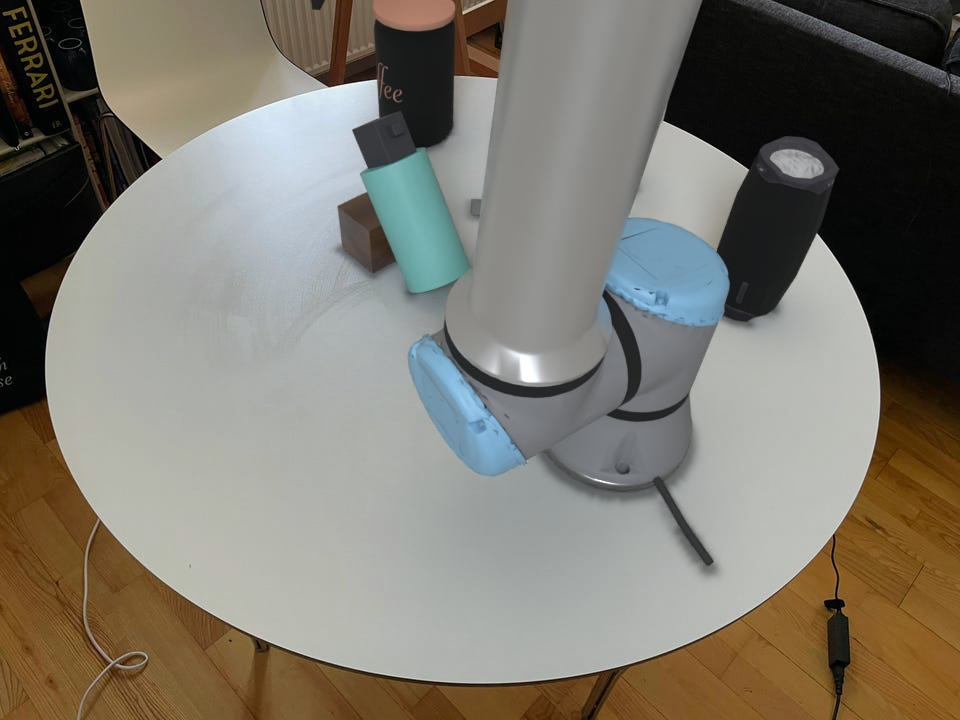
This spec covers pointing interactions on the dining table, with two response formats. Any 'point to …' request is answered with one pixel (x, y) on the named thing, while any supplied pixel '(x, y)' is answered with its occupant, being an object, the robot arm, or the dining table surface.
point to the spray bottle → (410, 205)
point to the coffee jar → (416, 65)
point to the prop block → (364, 234)
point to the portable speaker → (774, 223)
